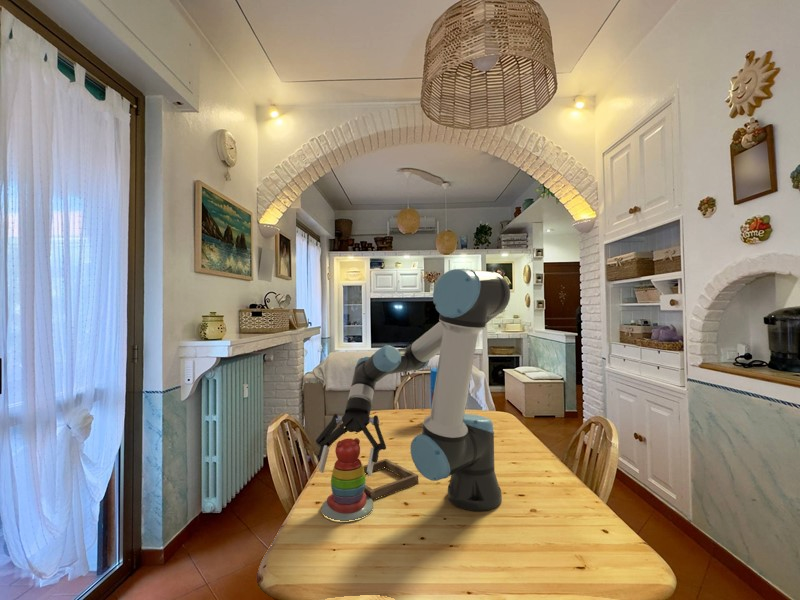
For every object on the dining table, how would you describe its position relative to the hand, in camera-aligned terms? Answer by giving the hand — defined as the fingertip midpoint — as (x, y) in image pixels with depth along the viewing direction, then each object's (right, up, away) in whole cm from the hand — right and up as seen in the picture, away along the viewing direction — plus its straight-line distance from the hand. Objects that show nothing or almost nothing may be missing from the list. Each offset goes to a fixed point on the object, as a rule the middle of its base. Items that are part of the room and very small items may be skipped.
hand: (344, 472), depth 103 cm
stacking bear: (+1, -10, +2) cm, 10 cm away
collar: (+8, -11, +18) cm, 23 cm away
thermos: (+35, -13, +81) cm, 90 cm away
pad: (+1, -11, +2) cm, 11 cm away
